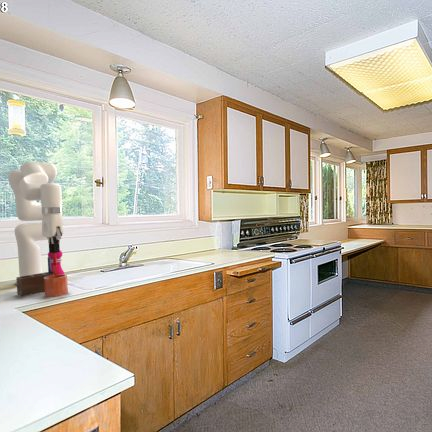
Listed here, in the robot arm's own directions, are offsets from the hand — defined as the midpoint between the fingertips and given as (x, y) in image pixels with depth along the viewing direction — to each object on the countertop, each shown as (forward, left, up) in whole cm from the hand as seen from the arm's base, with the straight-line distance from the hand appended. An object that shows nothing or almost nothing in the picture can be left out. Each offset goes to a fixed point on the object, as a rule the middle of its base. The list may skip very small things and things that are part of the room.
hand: (54, 252), depth 141 cm
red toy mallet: (0, 0, -10) cm, 10 cm away
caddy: (-13, -2, -20) cm, 24 cm away
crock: (0, 0, -20) cm, 20 cm away
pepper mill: (-23, +9, -20) cm, 32 cm away
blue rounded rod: (-13, +3, -19) cm, 23 cm away
